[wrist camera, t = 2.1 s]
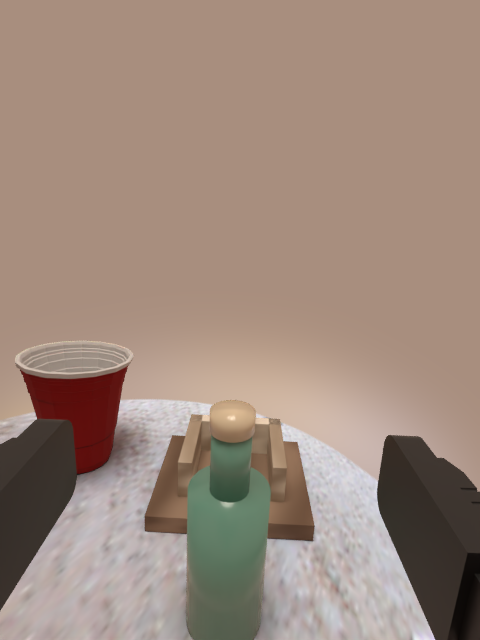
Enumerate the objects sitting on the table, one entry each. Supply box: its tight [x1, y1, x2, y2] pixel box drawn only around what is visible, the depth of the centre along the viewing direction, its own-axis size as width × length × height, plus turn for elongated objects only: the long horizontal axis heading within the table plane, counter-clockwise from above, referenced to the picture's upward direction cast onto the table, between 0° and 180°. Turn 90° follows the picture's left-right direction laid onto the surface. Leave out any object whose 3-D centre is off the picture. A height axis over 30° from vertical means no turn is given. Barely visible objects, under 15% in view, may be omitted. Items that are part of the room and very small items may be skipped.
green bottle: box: [186, 400, 271, 640], centre depth 24 cm, size 5×5×15 cm
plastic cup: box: [15, 341, 134, 474], centre depth 40 cm, size 11×11×12 cm
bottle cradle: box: [145, 414, 314, 541], centre depth 38 cm, size 14×12×5 cm
